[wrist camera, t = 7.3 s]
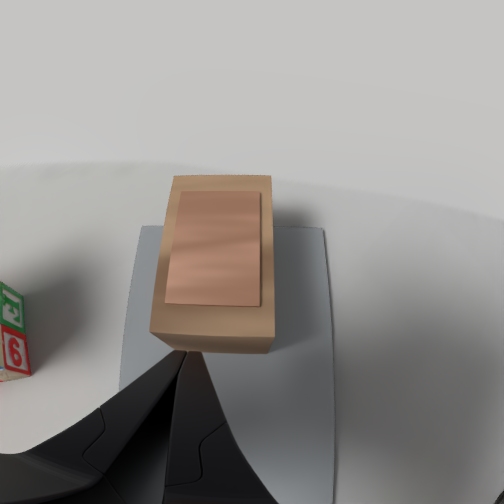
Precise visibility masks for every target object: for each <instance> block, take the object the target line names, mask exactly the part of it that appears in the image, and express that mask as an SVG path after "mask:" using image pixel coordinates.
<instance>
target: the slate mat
mask: <svg viewBox="0 0 504 504" xmlns="http://www.w3.org/2000/svg"><path fill="white" fill-rule="evenodd" d="M163 229H164V226H142V228H141V232H140V237H139V242H138V247H137V252H136V258H135V263H134V268H133V274H132V280H131V286H130V292H129V299H128V306H127V313H126V321H125V329H124V337H123V347H122V357H121V368H120V382H119V392H120V391H121V390H122V389H124V388H125V387H126V386H128V385H129V384H130V383H131V382H133V381H134V380H135V379H137V378H138V377H139V376H141V375H142V374H143V373H145V372H146V371H147V370H148V369H150V368H151V367H152V366H154V365H155V364H156V363H157V362H159V361H160V360H161V359H163V358H164V357H165V356H166V355H168V354H169V353H170V352H171V351H173V350H175V349H173V348H172V347H170V346H169V345H167V344H166V343H164V342H163V341H161V340H160V339H159V338H157V337H156V336H154V335H153V334H151V333H150V332H149V327H150V318H151V309H152V301H153V293H154V286H155V279H156V272H157V265H158V258H159V252H160V246H161V240H162V234H163ZM273 252H274V306H275V338H274V340H273V342H272V344H271V347H270V349H269V351H268V353H267V354H227V353H203V352H202V354H203V357H204V360H205V363H206V366H207V368H208V371H209V374H210V377H211V380H212V382H213V385H214V388H215V390H216V393H217V396H218V398H219V401H220V404H221V406H222V409H223V411H224V414H225V416H226V419H227V421H228V424H229V426H230V429H231V431H232V433H233V435H234V438H235V440H236V442H237V444H238V446H239V448H240V449H241V451H242V453H243V454H244V456H245V458H246V459H247V461H248V463H249V464H250V465H251V467H252V468H253V470H254V471H255V473H256V474H257V476H258V477H259V478H260V480H261V481H262V483H263V484H264V485H265V487H266V488H267V489H268V491H269V492H270V493H271V495H272V496H273V497H274V498H275V500H276V501H277V502H278V503H279V504H332V500H333V481H334V447H335V401H334V366H333V344H332V327H331V312H330V299H329V287H328V276H327V266H326V256H325V247H324V238H323V230H322V228H310V227H273Z"/></svg>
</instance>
